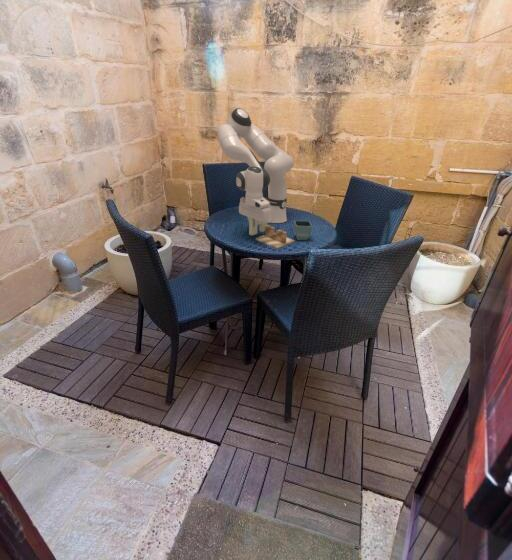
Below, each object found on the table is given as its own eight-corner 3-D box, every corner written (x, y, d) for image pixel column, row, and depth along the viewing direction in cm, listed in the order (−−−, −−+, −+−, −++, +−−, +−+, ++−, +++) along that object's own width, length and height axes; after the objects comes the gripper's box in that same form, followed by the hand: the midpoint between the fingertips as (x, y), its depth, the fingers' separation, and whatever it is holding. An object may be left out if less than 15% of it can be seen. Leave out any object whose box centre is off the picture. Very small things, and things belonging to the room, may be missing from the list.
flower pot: (307, 235, 181) (309, 220, 177) (310, 241, 174) (312, 226, 169) (292, 235, 181) (293, 220, 177) (294, 241, 173) (296, 226, 169)
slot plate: (249, 234, 172) (249, 216, 167) (264, 229, 180) (265, 212, 175) (251, 235, 171) (252, 217, 166) (267, 230, 178) (267, 212, 173)
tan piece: (255, 239, 174) (256, 227, 170) (273, 233, 182) (274, 222, 179) (276, 249, 164) (277, 236, 161) (294, 242, 173) (295, 230, 169)
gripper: (236, 197, 168) (236, 222, 175) (263, 206, 156) (262, 232, 162) (244, 195, 172) (244, 219, 179) (272, 203, 160) (271, 229, 166)
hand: (253, 225), depth 171 cm, fingers closed on slot plate, 2 cm apart
